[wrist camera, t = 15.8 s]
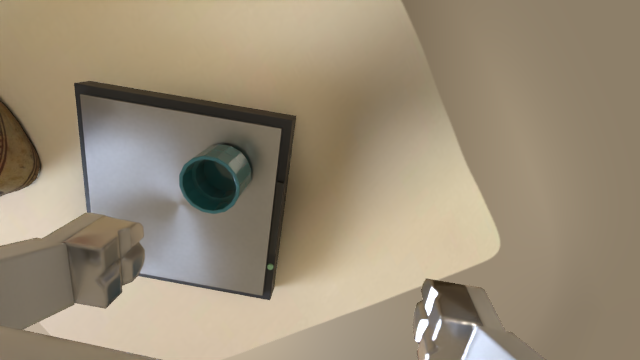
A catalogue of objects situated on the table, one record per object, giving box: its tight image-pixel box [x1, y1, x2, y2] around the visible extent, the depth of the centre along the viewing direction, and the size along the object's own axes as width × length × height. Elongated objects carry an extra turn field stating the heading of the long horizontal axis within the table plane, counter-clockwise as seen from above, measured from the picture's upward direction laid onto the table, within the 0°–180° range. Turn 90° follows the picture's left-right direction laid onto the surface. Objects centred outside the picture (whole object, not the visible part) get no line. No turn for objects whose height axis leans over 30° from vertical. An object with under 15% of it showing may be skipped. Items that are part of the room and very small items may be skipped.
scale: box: [74, 81, 296, 300], centre depth 45 cm, size 25×25×3 cm
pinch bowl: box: [179, 144, 251, 214], centre depth 39 cm, size 6×6×5 cm
